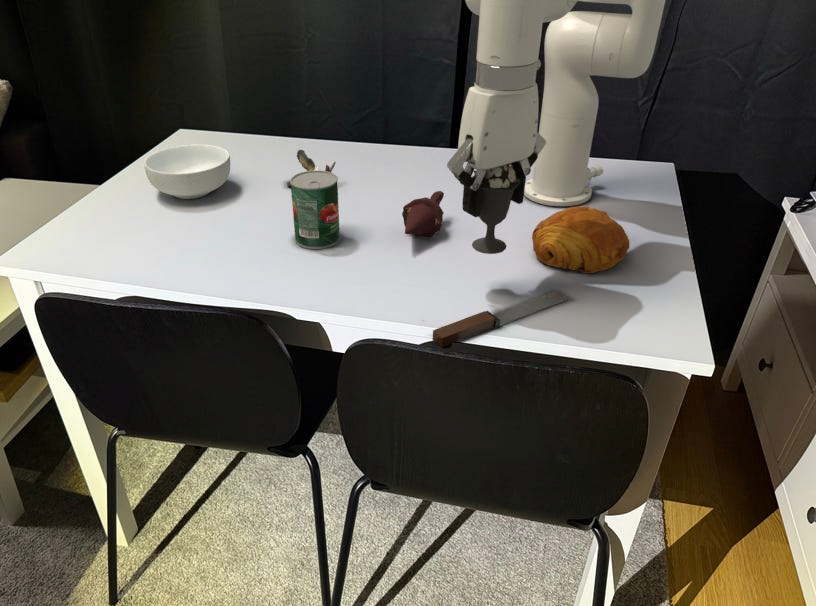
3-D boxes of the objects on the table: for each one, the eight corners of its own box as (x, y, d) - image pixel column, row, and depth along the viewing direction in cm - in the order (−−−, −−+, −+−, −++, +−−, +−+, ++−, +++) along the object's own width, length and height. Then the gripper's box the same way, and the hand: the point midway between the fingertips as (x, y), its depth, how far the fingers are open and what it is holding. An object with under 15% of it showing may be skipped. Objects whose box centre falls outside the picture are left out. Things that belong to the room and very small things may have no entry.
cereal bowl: (248, 193, 141) (244, 159, 137) (171, 216, 134) (164, 180, 130) (211, 169, 153) (206, 136, 149) (137, 188, 146) (130, 155, 141)
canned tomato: (294, 230, 127) (289, 171, 120) (337, 227, 127) (335, 168, 121) (296, 251, 121) (291, 190, 114) (342, 247, 121) (339, 186, 114)
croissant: (514, 264, 118) (514, 222, 113) (575, 224, 124) (577, 183, 119) (587, 296, 109) (590, 251, 103) (649, 251, 114) (655, 207, 109)
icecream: (433, 222, 113) (463, 195, 124) (392, 204, 115) (425, 178, 126) (420, 259, 117) (450, 229, 128) (380, 241, 119) (413, 213, 130)
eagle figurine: (338, 173, 145) (299, 160, 147) (334, 152, 138) (293, 139, 140) (322, 204, 143) (283, 190, 145) (316, 184, 136) (276, 169, 138)
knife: (555, 291, 107) (556, 282, 106) (568, 300, 105) (570, 290, 104) (431, 338, 98) (431, 329, 97) (443, 348, 96) (443, 339, 95)
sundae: (515, 238, 105) (527, 138, 96) (508, 259, 100) (521, 155, 91) (470, 233, 107) (479, 134, 98) (462, 253, 102) (470, 151, 93)
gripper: (537, 58, 95) (522, 184, 106) (431, 80, 89) (426, 212, 99) (578, 69, 90) (558, 201, 100) (468, 94, 83) (459, 232, 94)
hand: (492, 206), depth 100 cm, fingers closed on sundae, 6 cm apart
